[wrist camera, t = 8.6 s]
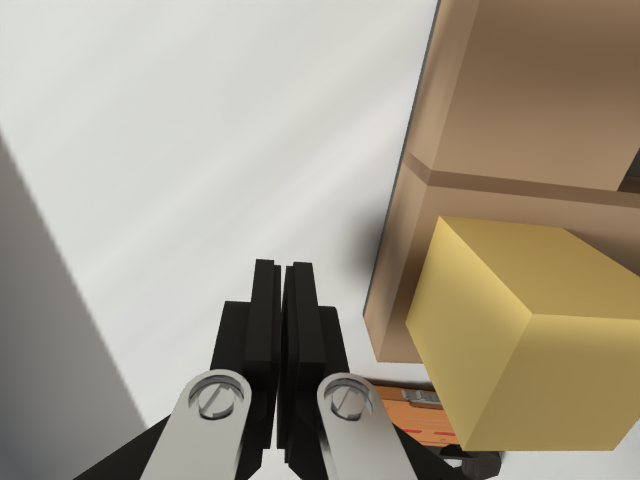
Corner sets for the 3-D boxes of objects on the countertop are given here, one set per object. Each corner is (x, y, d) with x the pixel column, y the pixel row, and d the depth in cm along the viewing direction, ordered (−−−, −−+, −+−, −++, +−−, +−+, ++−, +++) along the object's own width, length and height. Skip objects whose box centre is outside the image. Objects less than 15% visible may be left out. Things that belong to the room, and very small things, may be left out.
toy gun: (258, 503, 22) (296, 401, 17) (260, 464, 24) (294, 361, 19) (481, 510, 25) (568, 425, 20) (467, 475, 27) (543, 389, 22)
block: (512, 328, 15) (612, 450, 10) (405, 323, 14) (463, 450, 9) (561, 227, 12) (714, 324, 8) (439, 215, 12) (532, 313, 7)
